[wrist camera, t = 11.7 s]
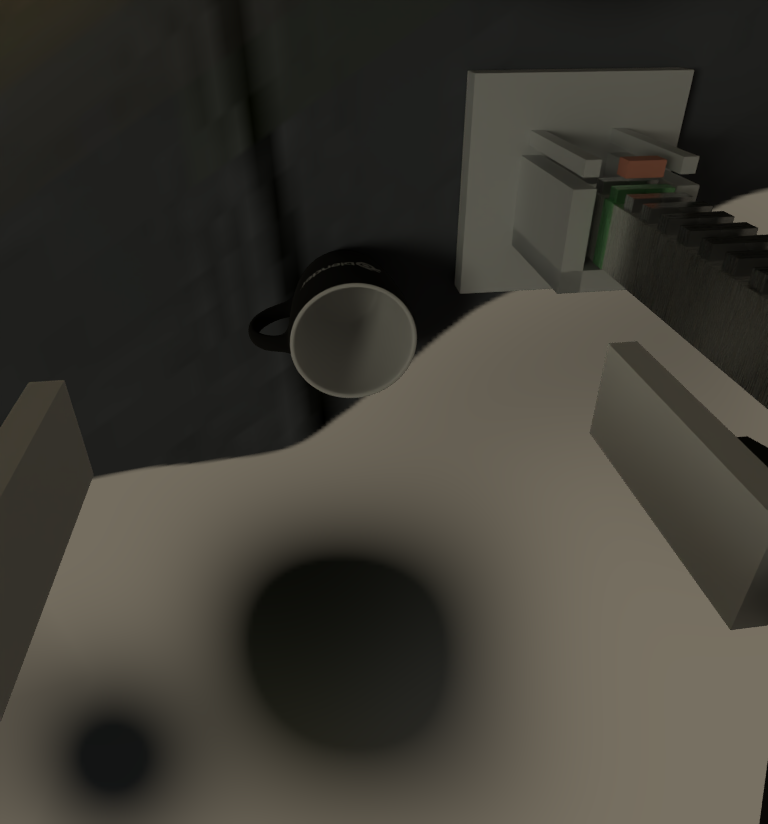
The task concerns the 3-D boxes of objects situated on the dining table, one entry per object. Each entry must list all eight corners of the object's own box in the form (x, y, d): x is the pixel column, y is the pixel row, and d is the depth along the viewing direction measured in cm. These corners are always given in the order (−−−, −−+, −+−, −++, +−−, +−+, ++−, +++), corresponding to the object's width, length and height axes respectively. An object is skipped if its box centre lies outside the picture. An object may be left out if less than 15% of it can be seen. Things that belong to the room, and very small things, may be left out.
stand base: (467, 70, 46) (524, 93, 35) (679, 67, 48) (793, 88, 37) (454, 284, 54) (497, 354, 44) (634, 274, 56) (716, 339, 46)
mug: (389, 226, 51) (411, 272, 43) (400, 328, 56) (423, 387, 48) (237, 251, 50) (230, 302, 42) (263, 351, 55) (261, 416, 47)
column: (582, 171, 42) (816, 307, 24) (641, 169, 43) (914, 301, 25) (570, 244, 45) (773, 416, 27) (626, 241, 45) (863, 409, 27)
